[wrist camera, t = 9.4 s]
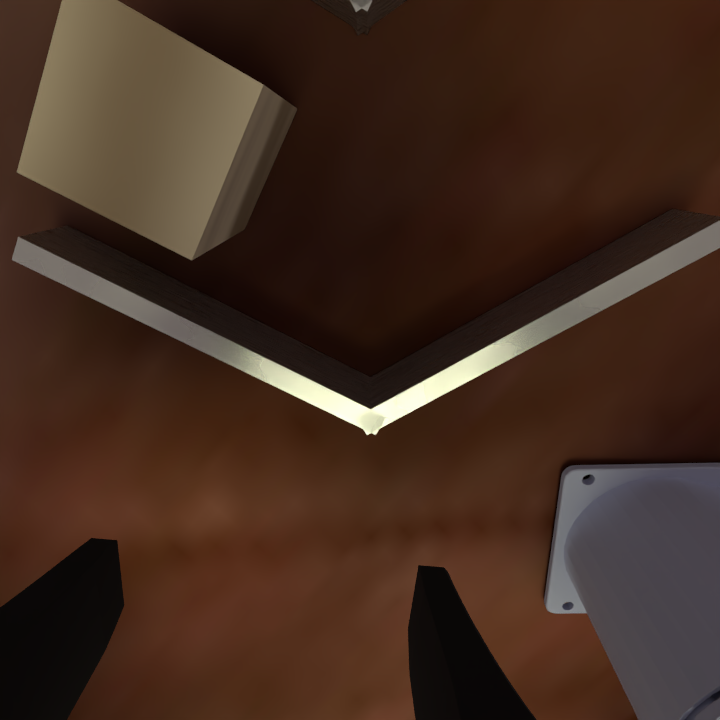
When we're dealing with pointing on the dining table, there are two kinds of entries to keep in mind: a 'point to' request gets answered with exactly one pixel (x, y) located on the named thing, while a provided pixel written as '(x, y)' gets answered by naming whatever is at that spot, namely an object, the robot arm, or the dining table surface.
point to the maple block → (151, 128)
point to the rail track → (408, 376)
